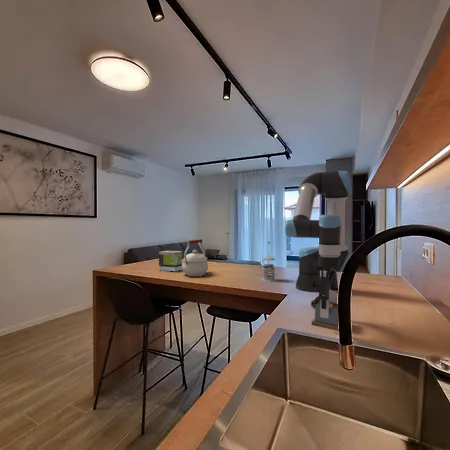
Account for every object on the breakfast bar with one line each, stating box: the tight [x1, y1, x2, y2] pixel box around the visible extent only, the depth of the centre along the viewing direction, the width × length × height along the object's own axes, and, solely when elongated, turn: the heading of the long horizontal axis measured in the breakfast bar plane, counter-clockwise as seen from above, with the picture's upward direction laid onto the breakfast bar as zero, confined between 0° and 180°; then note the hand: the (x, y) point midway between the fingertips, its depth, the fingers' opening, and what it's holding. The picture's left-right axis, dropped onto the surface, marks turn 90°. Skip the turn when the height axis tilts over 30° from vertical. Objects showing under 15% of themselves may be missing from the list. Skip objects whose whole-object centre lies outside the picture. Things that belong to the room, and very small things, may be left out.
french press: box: [258, 241, 277, 283], centre depth 171 cm, size 10×12×25 cm
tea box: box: [158, 250, 183, 273], centre depth 203 cm, size 15×10×15 cm
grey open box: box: [314, 301, 338, 326], centre depth 100 cm, size 8×8×6 cm
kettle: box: [181, 238, 209, 277], centre depth 188 cm, size 25×18×25 cm
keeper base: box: [311, 318, 339, 331], centre depth 100 cm, size 10×10×1 cm
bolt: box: [310, 295, 329, 309], centre depth 120 cm, size 6×5×15 cm
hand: (328, 312), depth 100 cm, fingers open, 13 cm apart
